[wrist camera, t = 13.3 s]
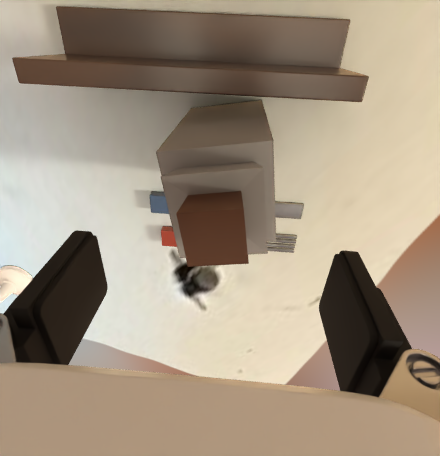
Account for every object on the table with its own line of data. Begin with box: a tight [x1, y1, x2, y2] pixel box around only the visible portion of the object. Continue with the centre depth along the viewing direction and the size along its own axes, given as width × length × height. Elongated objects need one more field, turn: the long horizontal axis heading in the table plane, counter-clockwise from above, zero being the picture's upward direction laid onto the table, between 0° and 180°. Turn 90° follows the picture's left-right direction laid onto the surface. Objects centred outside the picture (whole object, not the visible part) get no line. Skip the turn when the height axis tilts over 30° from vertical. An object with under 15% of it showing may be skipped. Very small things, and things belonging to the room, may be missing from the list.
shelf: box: [13, 6, 369, 102], centre depth 23 cm, size 5×24×8 cm, turn 88°
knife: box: [150, 192, 304, 219], centre depth 34 cm, size 2×17×1 cm, turn 88°
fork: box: [161, 226, 297, 253], centre depth 36 cm, size 3×16×1 cm, turn 88°
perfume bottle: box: [156, 100, 276, 266], centre depth 23 cm, size 7×7×18 cm
